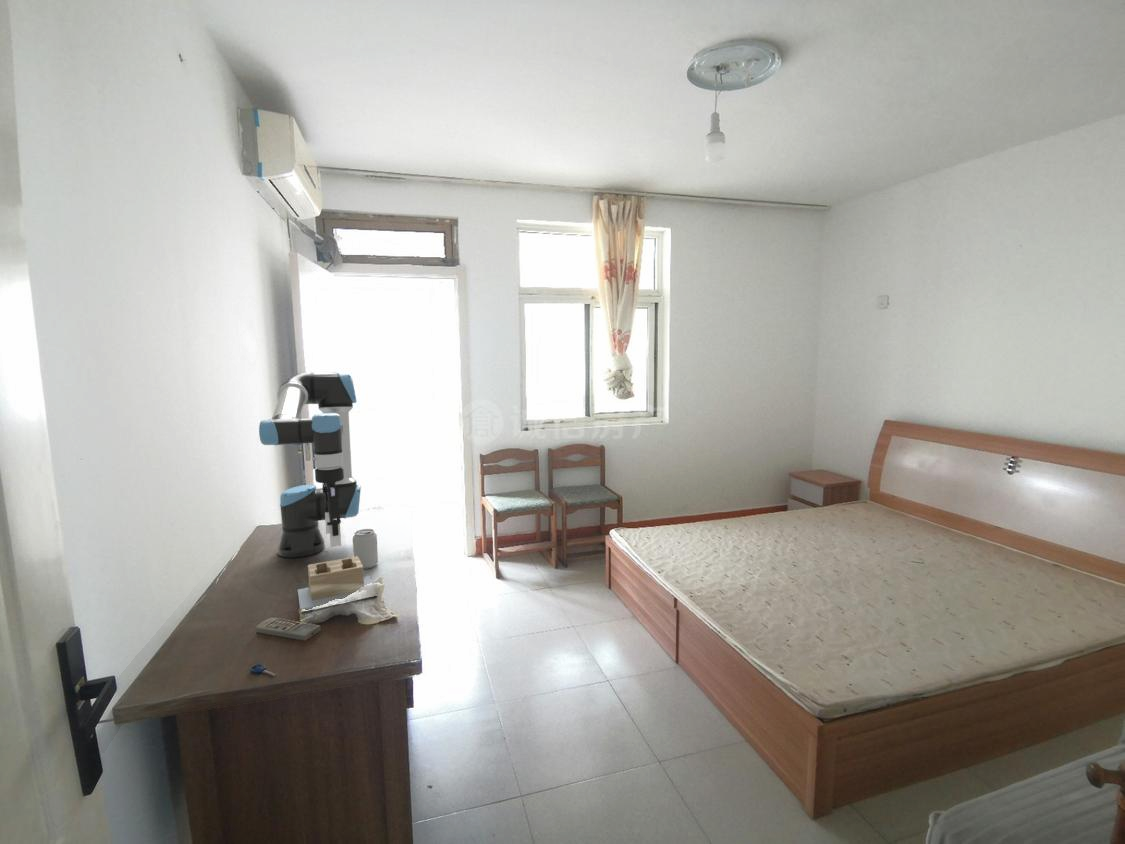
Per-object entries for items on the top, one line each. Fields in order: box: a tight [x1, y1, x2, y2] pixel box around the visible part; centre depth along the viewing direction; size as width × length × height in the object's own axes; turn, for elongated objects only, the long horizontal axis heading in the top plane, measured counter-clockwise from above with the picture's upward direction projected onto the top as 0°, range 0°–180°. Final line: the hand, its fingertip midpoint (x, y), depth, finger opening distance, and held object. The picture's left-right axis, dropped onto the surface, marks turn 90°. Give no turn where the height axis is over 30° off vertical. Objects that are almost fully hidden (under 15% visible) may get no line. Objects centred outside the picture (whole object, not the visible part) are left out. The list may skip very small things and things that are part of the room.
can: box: [352, 528, 379, 570], centre depth 173 cm, size 8×8×12 cm
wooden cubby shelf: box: [307, 556, 365, 600], centre depth 153 cm, size 10×14×7 cm
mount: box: [297, 575, 373, 613], centre depth 152 cm, size 14×20×4 cm
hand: (333, 539), depth 152 cm, fingers open, 12 cm apart
